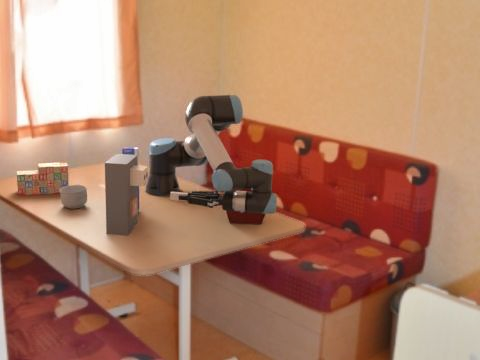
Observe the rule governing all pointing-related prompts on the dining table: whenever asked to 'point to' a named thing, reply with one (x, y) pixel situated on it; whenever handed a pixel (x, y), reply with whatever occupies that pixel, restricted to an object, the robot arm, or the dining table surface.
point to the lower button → (133, 206)
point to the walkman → (130, 151)
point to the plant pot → (244, 215)
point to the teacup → (74, 196)
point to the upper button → (138, 175)
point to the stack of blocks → (43, 179)
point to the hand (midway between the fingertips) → (170, 195)
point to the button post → (119, 194)
